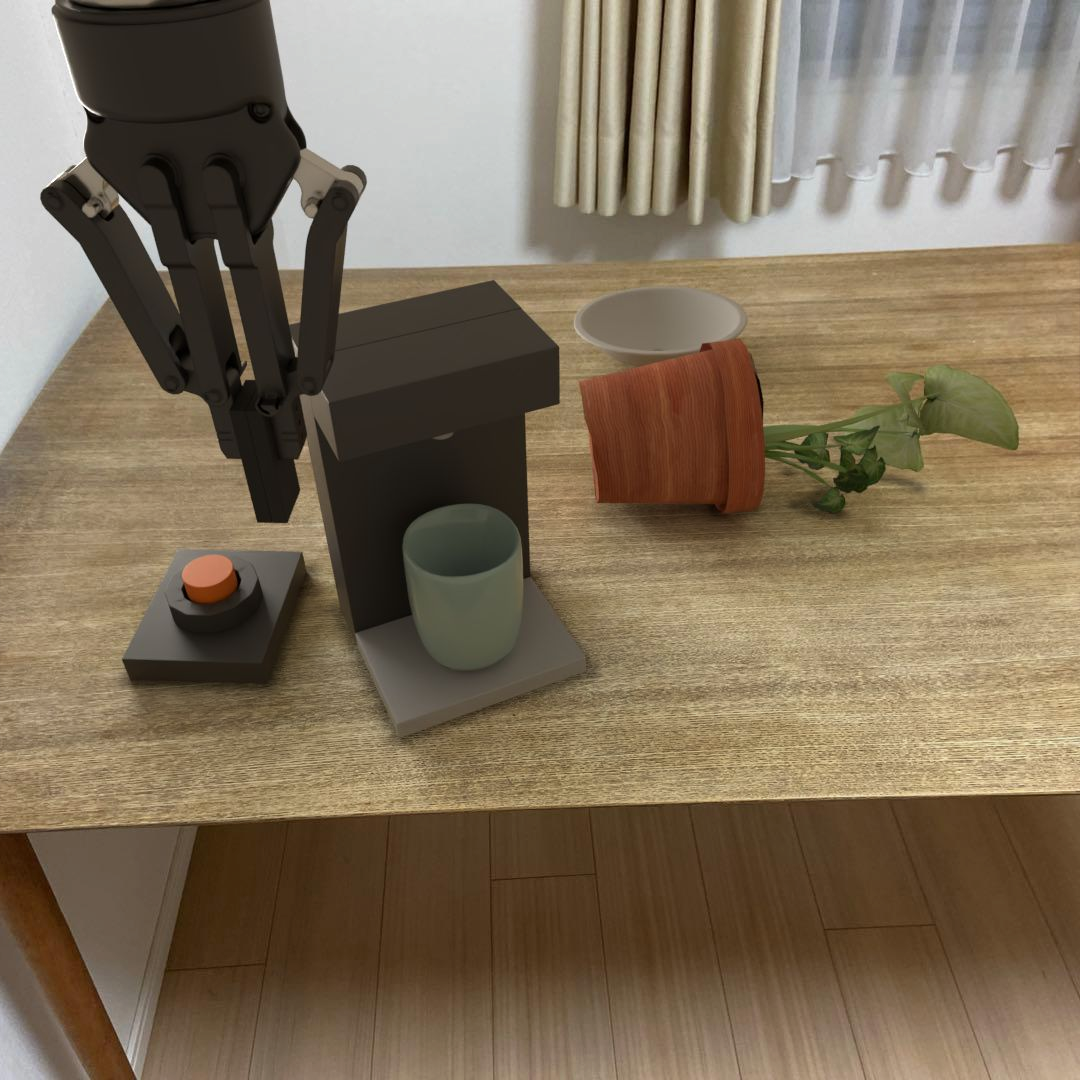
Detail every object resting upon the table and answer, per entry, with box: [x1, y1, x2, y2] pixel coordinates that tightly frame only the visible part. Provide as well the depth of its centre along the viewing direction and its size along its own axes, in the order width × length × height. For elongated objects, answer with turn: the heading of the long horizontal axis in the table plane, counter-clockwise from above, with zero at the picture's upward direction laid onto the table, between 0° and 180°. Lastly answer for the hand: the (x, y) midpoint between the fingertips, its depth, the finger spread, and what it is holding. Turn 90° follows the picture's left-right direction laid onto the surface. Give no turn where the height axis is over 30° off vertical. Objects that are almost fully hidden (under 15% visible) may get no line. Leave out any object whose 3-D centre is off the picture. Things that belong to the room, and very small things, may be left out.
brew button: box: [182, 555, 238, 604], centre depth 74 cm, size 4×4×2 cm
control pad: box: [121, 548, 308, 685], centre depth 76 cm, size 10×12×4 cm
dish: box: [573, 285, 748, 367], centre depth 104 cm, size 18×14×5 cm
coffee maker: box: [289, 279, 587, 739], centre depth 67 cm, size 14×14×24 cm
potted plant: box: [577, 338, 1020, 515], centre depth 84 cm, size 16×15×35 cm
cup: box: [402, 504, 524, 671], centre depth 69 cm, size 8×8×10 cm
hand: (279, 505), depth 51 cm, fingers closed
